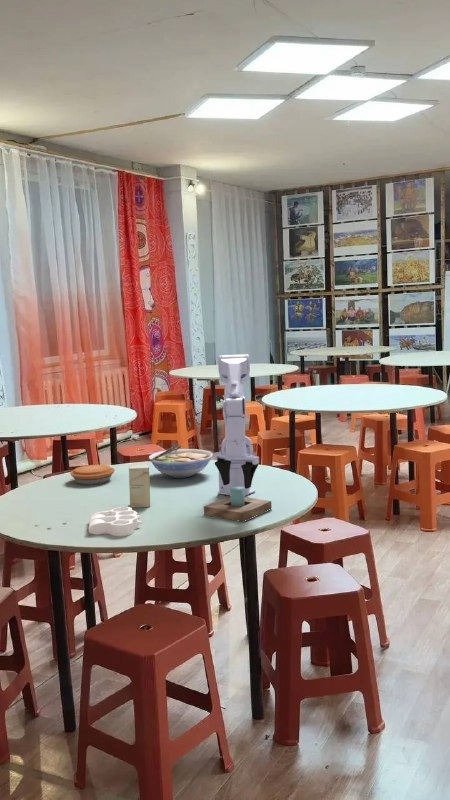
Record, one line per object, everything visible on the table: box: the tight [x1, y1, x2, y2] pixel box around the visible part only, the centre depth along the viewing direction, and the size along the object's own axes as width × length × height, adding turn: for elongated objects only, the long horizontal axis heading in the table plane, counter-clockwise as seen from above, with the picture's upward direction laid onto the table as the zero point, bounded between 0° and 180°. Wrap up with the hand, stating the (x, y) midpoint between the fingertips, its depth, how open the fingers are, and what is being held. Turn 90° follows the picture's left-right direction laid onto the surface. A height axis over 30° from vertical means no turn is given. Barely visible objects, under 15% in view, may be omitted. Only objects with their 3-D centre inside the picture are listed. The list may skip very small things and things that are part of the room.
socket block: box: [203, 495, 273, 522], centre depth 208 cm, size 14×14×2 cm
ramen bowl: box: [148, 445, 214, 479], centre depth 255 cm, size 25×23×8 cm
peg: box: [230, 487, 246, 508], centre depth 207 cm, size 4×4×7 cm
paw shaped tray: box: [88, 506, 144, 537], centre depth 198 cm, size 3×18×15 cm
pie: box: [69, 464, 116, 486], centre depth 252 cm, size 15×16×5 cm
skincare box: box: [128, 464, 151, 509], centre depth 218 cm, size 6×4×12 cm
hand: (237, 486), depth 207 cm, fingers open, 7 cm apart
